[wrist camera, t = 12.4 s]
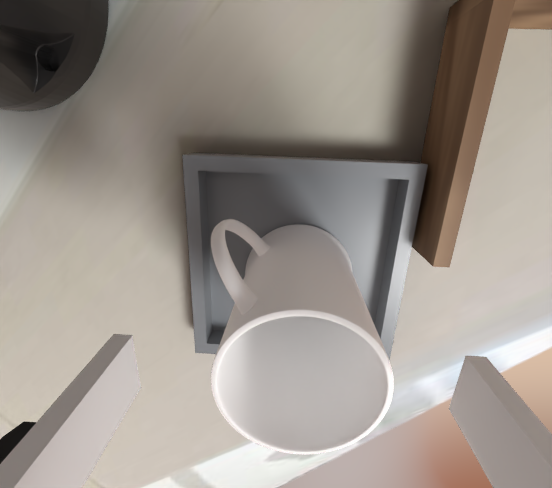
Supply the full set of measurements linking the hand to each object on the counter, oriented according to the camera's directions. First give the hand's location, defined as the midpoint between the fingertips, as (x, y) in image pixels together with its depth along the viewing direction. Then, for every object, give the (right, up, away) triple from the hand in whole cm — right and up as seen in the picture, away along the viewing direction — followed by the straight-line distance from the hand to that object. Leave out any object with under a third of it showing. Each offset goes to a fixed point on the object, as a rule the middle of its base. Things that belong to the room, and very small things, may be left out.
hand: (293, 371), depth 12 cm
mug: (0, +4, +12) cm, 13 cm away
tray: (+1, +4, +13) cm, 13 cm away
